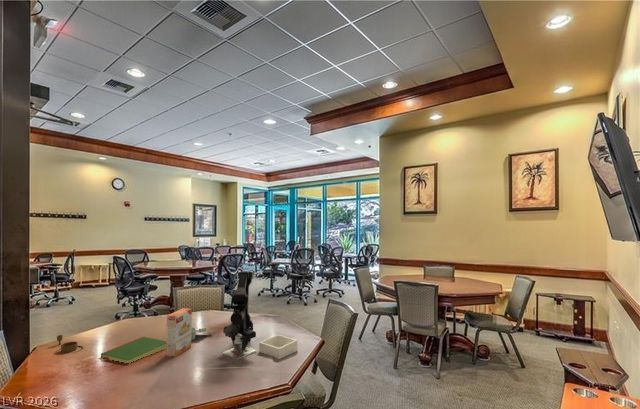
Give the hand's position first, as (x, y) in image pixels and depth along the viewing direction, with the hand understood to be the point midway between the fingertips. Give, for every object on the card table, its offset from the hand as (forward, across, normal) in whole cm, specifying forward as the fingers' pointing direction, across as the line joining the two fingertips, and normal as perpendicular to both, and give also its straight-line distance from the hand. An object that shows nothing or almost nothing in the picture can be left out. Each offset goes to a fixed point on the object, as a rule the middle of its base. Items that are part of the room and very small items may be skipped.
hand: (239, 348), depth 174 cm
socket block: (+3, 0, 0) cm, 3 cm away
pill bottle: (+3, 0, 0) cm, 3 cm away
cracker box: (+3, -28, -16) cm, 32 cm away
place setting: (+4, -78, -48) cm, 91 cm away
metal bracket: (+2, -34, +7) cm, 35 cm away
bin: (+3, +14, +14) cm, 20 cm away
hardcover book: (+4, -44, -30) cm, 54 cm away
